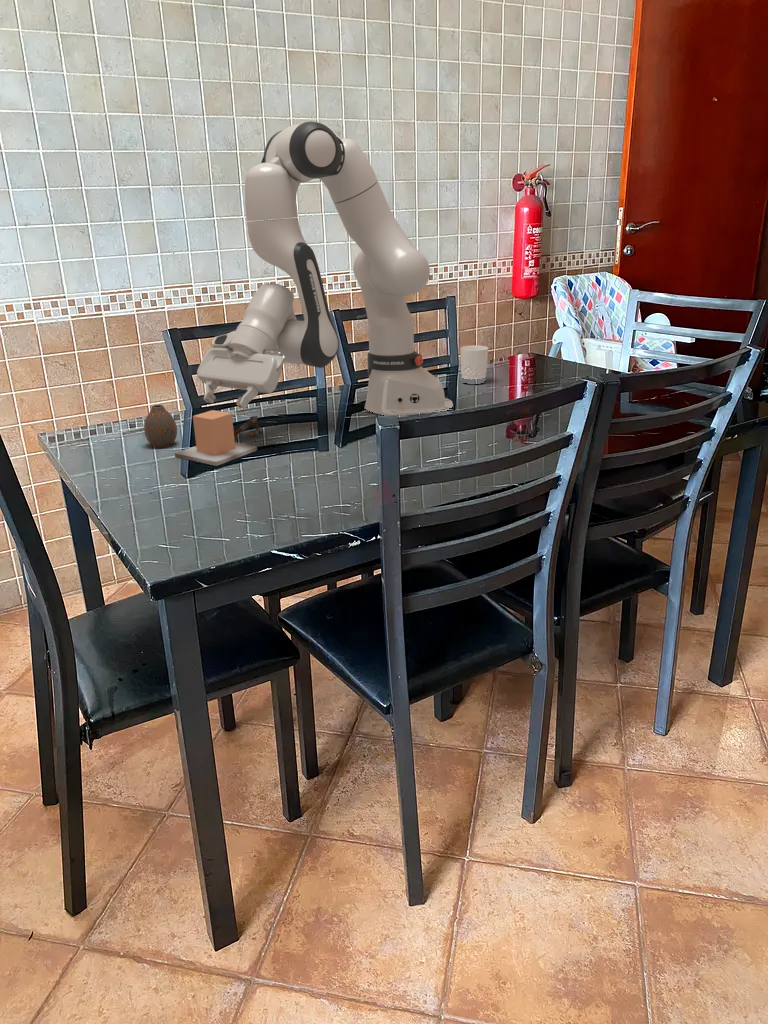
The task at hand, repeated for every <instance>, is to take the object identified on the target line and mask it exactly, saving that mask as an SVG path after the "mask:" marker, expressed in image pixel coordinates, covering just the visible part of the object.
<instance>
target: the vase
mask: <svg viewBox="0 0 768 1024" xmlns="http://www.w3.org/2000/svg"><path fill="white" fill-rule="evenodd" d="M143 430H144V431H143V432H144V436H145V439H146V441H147V442H148V443H149V444H150V445H151V446H153V447H154V448H165V447H167V448H168V447H170V446H172V445H173V444H174V442H175V441H176V439H177V435H178V427H177V423H176V421H175V418H174V416H173V415H172V414H171V413H170V412H169V411H168V410H167V409H166V408H165V406H164V405H163V404H155V405H152V406H151V407H150V411H149V412H148V414H147V416H146V417H145V420H144V423H143Z"/></svg>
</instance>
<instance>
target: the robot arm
mask: <svg viewBox="0 0 768 1024" xmlns="http://www.w3.org/2000/svg"><path fill="white" fill-rule="evenodd" d="M315 179H317V180H320V181H321V182H322V183H323V185H324V186H325V187H326V189H327V190H328V193H329V196H330V198H331V201H332V203H333V204H334V208H335V209H336V211H337V213H338V215H339V217H340V220H341V222H342V225H343V226H344V229H345V231H346V233H347V235H348V236H349V238H350V239H351V240H353V242H355V244H356V245H357V246H358V248H359V249H360V250H361V251H360V252H359V253H358V254H356V257H355V259H354V262H353V266H352V267H353V268H352V269H353V275H354V278H355V279H356V281H357V282H358V284H359V287H360V292H361V295H362V298H363V303H364V308H365V312H366V317H367V324H368V325H367V326H368V329H367V330H368V349H369V350H368V352H367V358H366V364H367V374H368V385H367V387H368V388H367V394H366V395H367V396H366V399H365V404H364V408H363V409H364V410H365V409H366V410H365V411H367V410H368V411H367V412H369V411H370V412H369V413H372V412H373V414H377V415H378V414H379V415H381V416H383V415H407V414H418V413H432V412H439V411H447V410H452V411H453V409H454V403H453V401H452V400H451V399H450V398H446V396H445V391H444V386H443V384H442V382H441V380H440V379H438V378H437V377H436V376H435V375H433V374H432V373H430V371H428V370H427V369H426V368H425V367H423V363H424V358H423V355H422V354H421V353H420V352H419V353H418V352H417V351H415V347H414V345H415V344H414V342H415V339H414V338H415V337H414V335H415V334H414V333H415V332H414V331H415V330H414V329H415V326H414V323H415V322H414V318H413V315H412V314H411V312H410V311H409V310H410V309H409V308H408V306H407V302H406V298H405V297H406V296H411V295H415V294H417V293H420V292H421V291H422V290H424V289H425V287H426V286H427V284H428V282H429V279H430V273H431V272H430V271H431V269H430V268H431V267H430V263H429V261H428V260H427V258H426V257H425V256H424V254H423V253H421V252H420V251H419V250H418V249H417V248H416V247H415V245H414V244H413V242H412V241H411V240H410V238H409V237H408V235H407V234H406V233H405V231H404V230H403V228H402V226H401V225H400V224H399V222H398V220H397V218H395V216H394V213H393V212H392V210H391V208H390V206H389V203H388V201H387V199H386V196H385V194H384V192H383V189H382V187H381V185H380V183H379V180H378V177H377V176H376V173H375V171H374V169H373V166H372V165H371V163H370V162H369V160H368V158H367V156H366V154H365V153H364V151H363V150H362V148H361V147H360V145H359V144H358V143H357V142H356V141H355V140H354V139H352V138H348V137H347V138H346V137H343V138H339V137H338V136H337V135H336V134H335V132H334V131H333V130H332V129H331V128H329V127H328V126H327V125H326V124H323V123H321V122H318V121H306V122H301V123H296V124H292V125H290V126H287V127H286V128H285V129H282V130H280V131H277V132H276V133H274V134H273V135H272V136H271V137H270V138H269V139H268V141H267V143H266V146H265V148H264V153H263V157H262V158H261V162H260V163H258V164H255V165H254V166H252V167H251V168H250V169H249V170H248V171H247V172H246V175H245V181H244V205H245V208H244V209H245V217H246V227H247V232H248V233H247V234H248V239H249V243H250V245H251V247H252V250H253V251H254V252H255V254H256V255H257V256H259V258H261V260H263V261H264V262H266V263H268V264H269V265H272V266H274V267H277V268H279V269H280V270H282V271H284V272H285V274H287V275H288V276H289V277H290V278H291V279H292V281H293V282H294V285H295V287H296V290H297V294H298V299H299V303H300V305H301V306H300V307H301V311H302V315H303V320H298V319H297V317H296V314H295V310H294V299H295V294H294V293H293V292H292V290H290V289H289V288H288V287H286V286H284V285H283V284H278V283H273V282H272V283H268V282H267V283H264V284H261V285H260V286H259V287H258V289H256V291H255V293H254V294H253V296H252V297H251V299H250V301H249V303H248V305H247V306H246V309H245V311H244V315H243V319H242V321H241V322H240V323H239V324H238V325H237V327H236V330H233V331H230V332H229V333H225V334H220V335H216V336H214V337H213V338H212V341H211V346H212V347H211V348H209V349H208V350H207V351H206V353H205V354H204V356H203V358H202V360H201V362H200V364H199V366H198V368H197V371H196V375H197V378H198V379H199V380H200V381H201V382H202V383H203V384H204V385H205V394H204V396H203V401H205V402H206V403H207V404H213V403H214V401H215V400H216V398H217V396H216V395H214V392H215V391H216V390H217V389H218V387H221V388H222V387H223V388H229V389H237V390H243V391H246V392H245V393H244V394H243V395H242V396H238V399H237V400H236V403H235V404H236V406H238V407H239V408H240V409H247V407H248V405H249V403H250V402H251V401H253V399H255V398H256V397H257V396H258V394H259V393H265V394H272V393H273V392H274V391H275V390H276V388H277V386H278V384H279V381H280V377H281V373H282V370H283V369H282V368H283V366H284V365H285V364H291V365H306V366H309V367H315V368H319V369H320V368H321V369H322V368H325V367H327V366H328V365H330V363H332V362H333V360H334V358H336V356H337V354H338V352H339V348H340V341H339V336H338V335H339V334H338V333H337V330H336V327H335V325H334V322H333V320H332V317H331V314H330V309H329V306H328V305H329V304H328V301H327V297H326V292H325V288H324V284H323V280H322V279H323V278H322V275H321V272H320V268H319V263H318V260H317V258H316V255H315V253H314V250H313V248H311V246H310V245H309V244H308V243H307V242H306V240H305V237H304V235H303V233H302V230H301V226H300V222H299V215H298V206H297V194H298V193H297V192H298V190H299V186H300V185H301V184H302V183H308V182H310V181H312V180H315ZM452 407H453V409H449V408H452ZM441 409H445V410H441ZM435 410H438V411H435Z"/></svg>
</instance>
